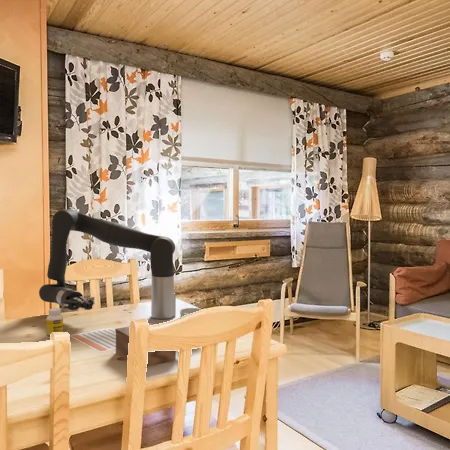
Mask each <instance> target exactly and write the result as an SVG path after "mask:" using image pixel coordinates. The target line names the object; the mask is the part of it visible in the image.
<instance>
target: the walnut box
mask: <svg viewBox="0 0 450 450" xmlns="http://www.w3.org/2000/svg"><path fill="white" fill-rule="evenodd" d="M148 323H149V325H155V324H153V323H151V322H148ZM130 326H131V325H129V326H124V327H119V328H115V329H114V330H115V331H116V349H115V354H117V355H118V356H120V357H121V358H122V359H123V360H125V361H127V355H128V343H129V327H130ZM176 352H177V351H155V352H148V364H147V367H146V368H148V366H149V367H152V366H153V367H154V366H157V364H158V365H161V363H162V364H166V363H169V362H173V361H176V359H177V353H176Z"/></svg>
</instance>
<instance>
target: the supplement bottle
mask: <svg viewBox="0 0 450 450" xmlns="http://www.w3.org/2000/svg"><path fill="white" fill-rule="evenodd" d="M61 313H62V308H61V307H60V308H59V307H54V308H50V309H48V315H47V316H46V338H47V339H50V334H51V333H52V332H63V333H64V329H63V328H64V315H62V314H61Z"/></svg>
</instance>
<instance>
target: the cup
mask: <svg viewBox="0 0 450 450" xmlns="http://www.w3.org/2000/svg"><path fill="white" fill-rule="evenodd" d="M201 309H202V308H199V307H187V308H182V309H180V310H179V313H180V314H179V317H180V318H181V317H182V316H183V314H184V313H186V314H190V313H193V312H196V311H199V310H201Z"/></svg>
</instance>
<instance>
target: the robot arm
mask: <svg viewBox="0 0 450 450" xmlns="http://www.w3.org/2000/svg"><path fill="white" fill-rule="evenodd" d="M51 221H52V222H51V247H50V249H51V250H50V256H49V262H48V267H47V274H46V276H47V278H48V279H49V280H53V281H55V282H56V283H49V284H48V283H47V284H43V285H41V286H40V288H39V290H38V295H39V297H40V299H41V301H43V302H46V303H53V304H57V305H60V306H61V307H63V309H68V310H70V311H76V310H79V309H82V310H84V309H85V310H87V311H89V310H92V309H93V306H94V305H95V296H92V297H89V298H88V297H86V296H83V294H82V292H81V291H78V290H74V289H71V288H67V287H66V271H67V265H68V251H67V250H68V248H67V246H68V245H67V244H68V238H69V235H70V232H71V231H75V232H80V233H82V234H83V233H84V234H86V235H87V234H88V235H90V236H92V237H93V238H96V239H97V240H99V241H101V242H103V243H106V244H108V245H112V246H116V247H121V248H125V249H133V250H134V249H136V250H142V251H145V252H148V253H149V254H150V257H149V258H150V260H149V262H150V271H151V298H150V299H151V304H150V305H151V312H150V313H151V315H150V316H151V318H152V319H157V320H162V319H163V320H165V319H167V320H168V319H171V318H174V317H176V299H177V298H176V296H177V295H176V293H175V292H174V291H175V286H174V285H175V268H174V253H175V251H176V244H175V242H174V241H173V239H171V238H170V237H167V236H163V235H156V234H152V233H147V232H144V231H141V230H139V229H137V228H134V227H130V226H127V225H125V224H121V223H118V222H115V221H114V222H113V221H110V220H106V219H103V218H95V217H93V216H90V215H87V214H84V213H82V212H80V211H77V210H74V209H71V208H67V209H66V208H65V209H60V210H58V211H56V212H55V213H54V214H53V216H52V219H51Z"/></svg>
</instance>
